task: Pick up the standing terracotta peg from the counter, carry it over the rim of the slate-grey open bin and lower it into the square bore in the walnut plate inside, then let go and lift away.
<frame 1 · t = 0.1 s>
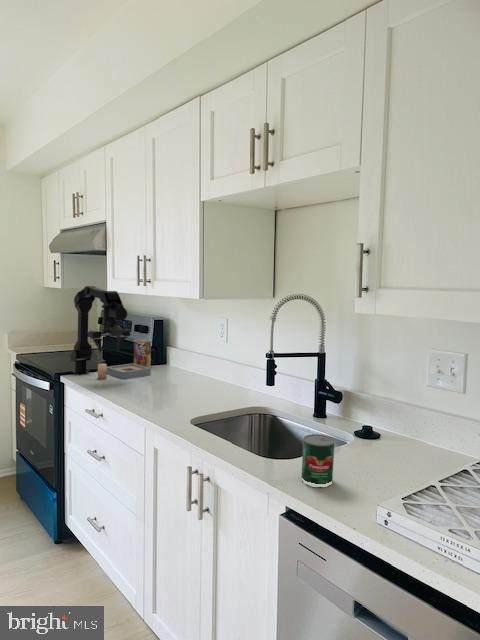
hand: (109, 352, 218), 14 cm above the worktop, tool pointing down, fingers open, 9 cm apart
bin: (128, 374, 239), on the worktop
candy box: (142, 368, 257), on the worktop
canned tomato: (316, 482, 120), on the worktop
peg: (102, 378, 228), on the worktop
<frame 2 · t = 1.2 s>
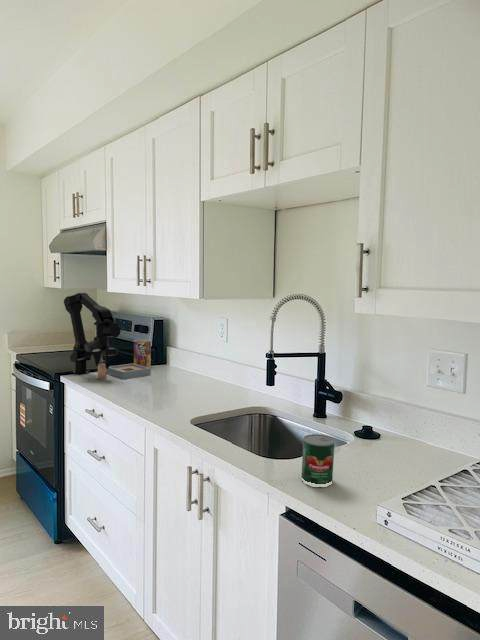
hand: (102, 367, 227), 6 cm above the worktop, tool pointing down, fingers open, 9 cm apart
nothing on the worktop moved.
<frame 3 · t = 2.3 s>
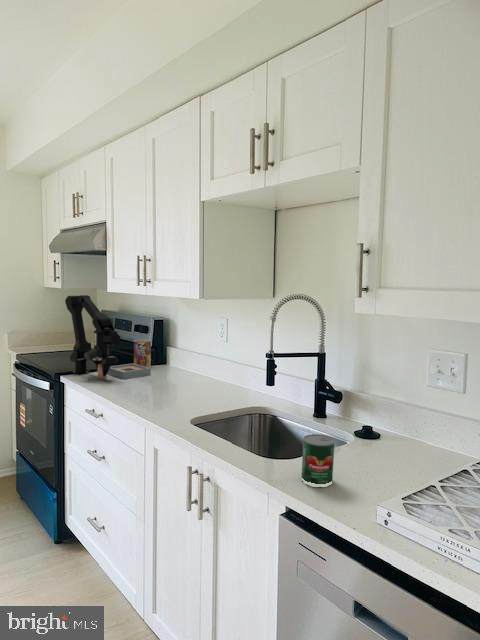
hand: (102, 375, 227), 2 cm above the worktop, tool pointing down, fingers closed on peg, 4 cm apart
peg: (102, 378, 228), on the worktop, touching gripper
everything else where it was.
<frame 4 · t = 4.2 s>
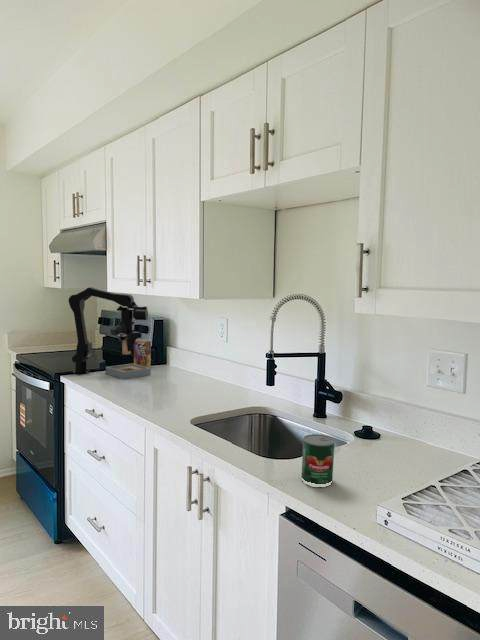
hand: (126, 350, 237), 12 cm above the worktop, tool pointing down, fingers closed on peg, 4 cm apart
peg: (126, 353, 237), point 11 cm above the worktop, touching gripper
everything else where it was.
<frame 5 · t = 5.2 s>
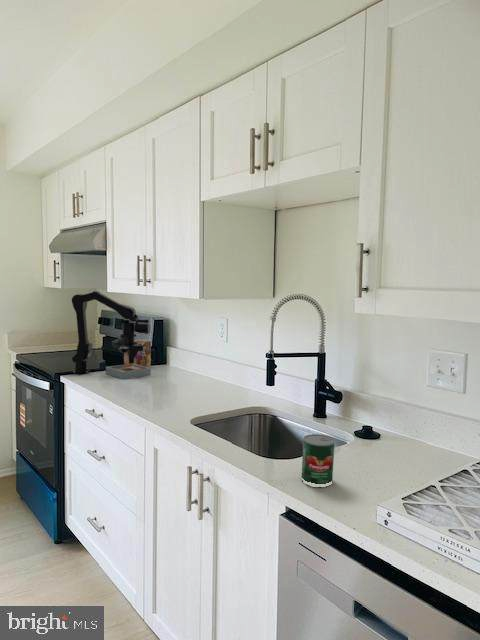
hand: (128, 363, 238), 6 cm above the worktop, tool pointing down, fingers closed on peg, 4 cm apart
peg: (128, 366, 238), point 4 cm above the worktop, touching gripper
everything else where it was.
when the fingers open (3 cm above the worktop, at t = 6.0 s): peg drops 2 cm, resting in bin.
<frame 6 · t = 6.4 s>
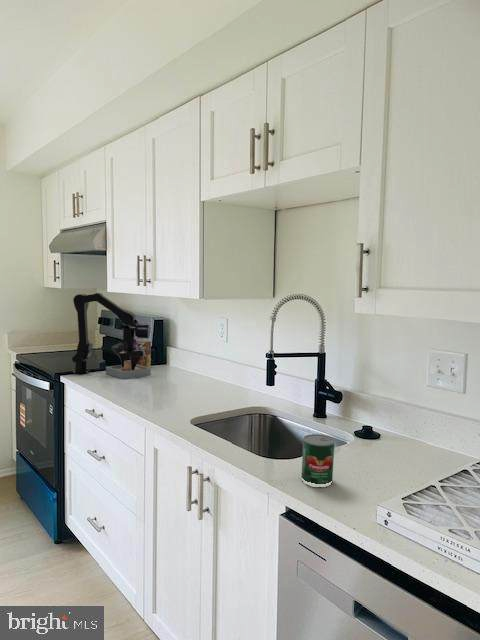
hand: (128, 368, 239), 3 cm above the worktop, tool pointing down, fingers open, 8 cm apart
peg: (128, 374, 239), resting in bin
everything else where it was.
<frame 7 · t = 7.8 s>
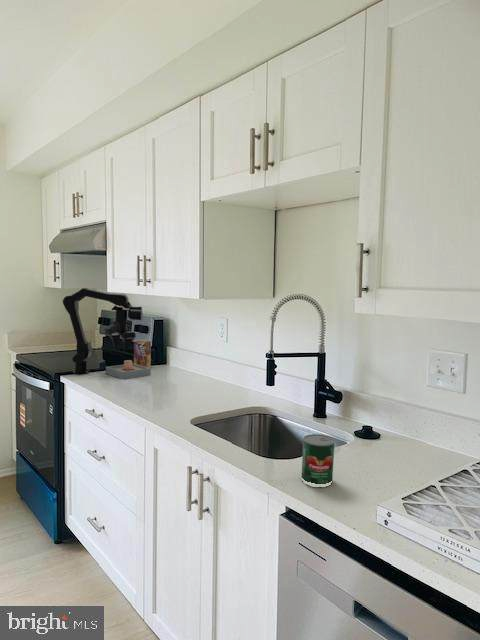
hand: (120, 350, 239), 12 cm above the worktop, tool pointing down, fingers open, 9 cm apart
nothing on the worktop moved.
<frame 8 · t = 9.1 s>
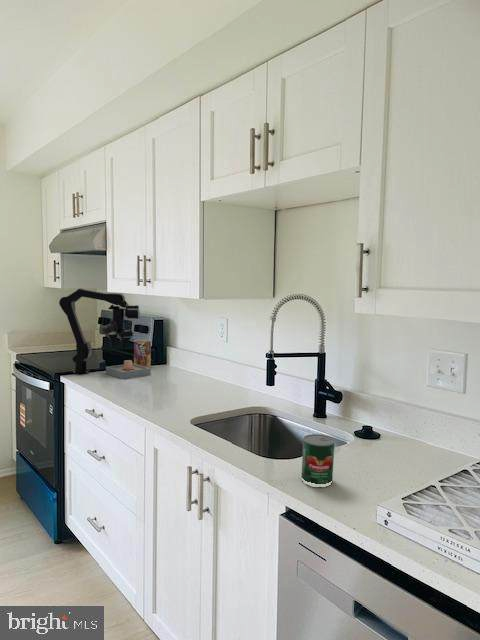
hand: (117, 349, 239), 13 cm above the worktop, tool pointing down, fingers open, 9 cm apart
nothing on the worktop moved.
at the end: peg 0.0 cm off-centre on the bin, point 0.0 cm above the bin's base; peg tilted 0°; the gripper is holding nothing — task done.
